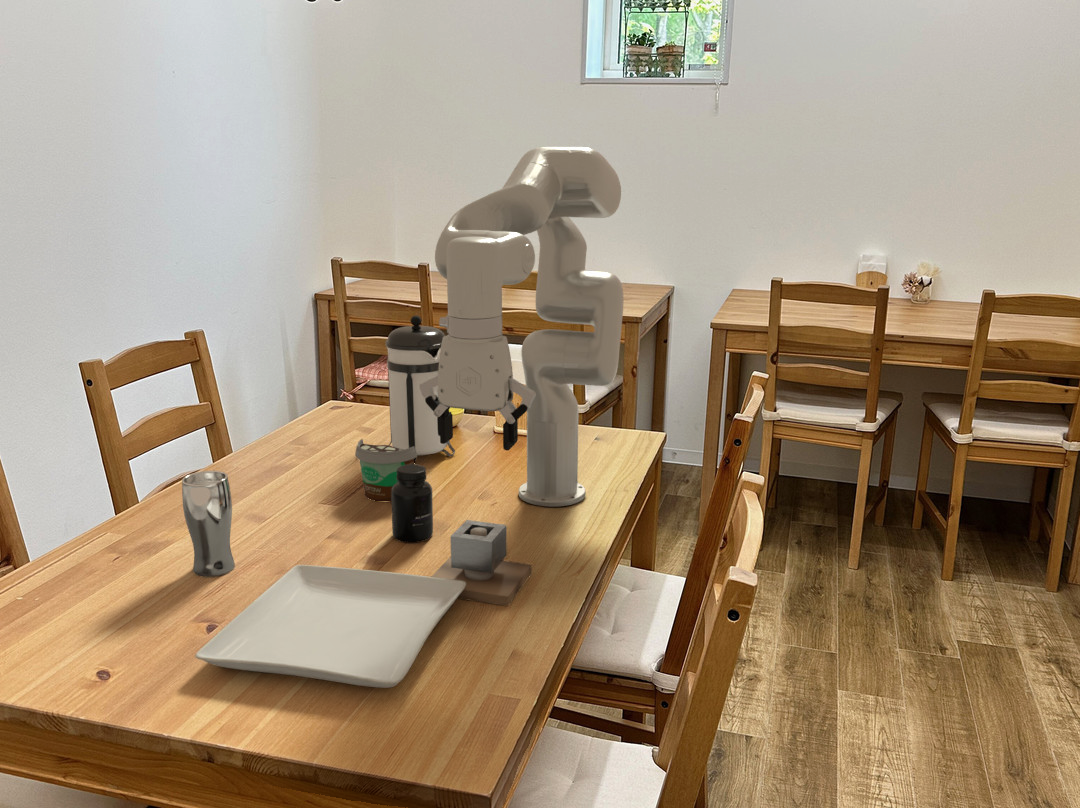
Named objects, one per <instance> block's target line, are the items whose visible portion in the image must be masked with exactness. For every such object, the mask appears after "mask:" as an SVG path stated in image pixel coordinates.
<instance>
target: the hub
mask: <svg viewBox="0 0 1080 808" xmlns="http://www.w3.org/2000/svg"><path fill="white" fill-rule="evenodd" d="M479 527H480V528H485V529H486V530H487V536H486V537H484V536H477V535H471V529H473V528H479ZM507 532H508V531H507V524H503V523H501V524H500V523H494V522H488V521H487V522H486V521H480V520H479V521H478V520H470V519H466V520H465V521H464V522H463V523H462V524H461V525H460V526H458V528H457V529H456V530H455V531H454V532H453V533H451V535H450V556H451V568H458V569H465V570H472V571H478V572H485V573H493V572H494V571H495V569H496V568H497V567H498V566H499V564H500V563H501V562H502V561H503V560H505V559H506V557H507V556H508V555H507V553H508V552H507V551H508V549H507V547H508V546H507V545H508V544H507V543H508V542H507V541H508V540H507V534H508V533H507Z"/></svg>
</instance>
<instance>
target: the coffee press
mask: <svg viewBox="0 0 1080 808" xmlns="http://www.w3.org/2000/svg"><path fill="white" fill-rule="evenodd" d="M422 322H423V319H422V318H421V317H420V316H419V315H413V316H412V317H411V318H410V324H411V325H407V326H406V325H405V326H401V327H398V328H395V329H394V330H392V331H391V332H390V333H389V335H388V337H387V339H386V340H385V346H386V349H387V358H386V363H387V364H386V365H387V367H386V368H387V370H388V371H387V373H388V374H387V375H388V377H387V378H388V379H387V380H388V396H389V397H388V400H389V423H390V425H389V426H390V442H389V444H388V445H389V446H393V447H396V448H399V449H408V448H411V447H413V446H414V448H415V450H416V453H417V457H416V458H414V463H415V464H417V458H418V456H425V455H426V456H427V455H431V454H436V453H439V452H443V453H444V454H445V455H446V456H447V457H449V456H452V457H453V456H454V455H455V454H456V453H455V452H456V450H455V449H454V447H453V446H452V444H451V441H450V440H451V439H450V440H449V441H448V442H447V443H445V444H441V443H440V436H438V424H437V417H436V416H435V415H434V411H433V410H432V409H431V408H430V407H429V406H428V405H427V404H426V402H425V397H423V395H422V393H421V391H420V389H419V385H420V384H422V383H423V382H425V381H428V380H430V379H432V378H434V377H436V376H438V370H439V359H440V351H441V344H442V339H443V337H444V336H446V335H445V333H444V331H442V330H441V329H439V328H436V327H434V326H428V325H421V324H422ZM433 391H434V394H435V395H436V396H437V397H438V385H437V386H435V387H433ZM447 446H448V448H449V449H450V451H451V452H452V454H451V453H450V452H449V451H448V450H447V449H446V447H447Z"/></svg>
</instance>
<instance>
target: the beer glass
mask: <svg viewBox="0 0 1080 808" xmlns="http://www.w3.org/2000/svg"><path fill="white" fill-rule="evenodd" d="M181 485H182V486H181V487H182V488H181V489H182V490H181V491H182V492H181V494H182V495H181V496H182V498H181V499H182V508H183V515H184V519H185V523H186V526H187V530H188V533H189V535H190V538H191V543H192V547H193V554H194V555H193V570H192V571H193V573H194V574H195V575H196V576H198V577H201V576H202V577H203V578H212V577H213V578H215V577H221V576H223V575H226V574H228V573H229V572H232V570H234V569H235V565H236V564H235V560H234V557H233V554H232V549H231V531H232V517H233V516H232V515H233V504H232V503H233V502H232V495H231V493H232V492H231V487H230V483H229V477H228V473H227V472H225V471H222V470H201V471H196V472H194V473H189V474H188V475H186V476H184V477H183V478H182V479H181Z"/></svg>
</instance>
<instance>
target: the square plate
mask: <svg viewBox="0 0 1080 808" xmlns="http://www.w3.org/2000/svg"><path fill="white" fill-rule="evenodd" d="M465 586H466V582H465V581H461V580H453V579H444V578H435V577H431V576H427V575H418V574H411V573H402V572H391V571H381V570H372V569H371V570H370V569H361V568H359V569H358V568H351V567H350V568H347V567H337V566H325V565H324V566H323V565H312V564H311V565H310V564H309V565H308V564H296V565H295V566H293V567H292V568H291V569H289V570H288V571H287V572H286V573H285V574H283V575H282V576H281V577H280V578H279V579H278V580H277V581H276V582H274V583H273V584H271V585H270V586H269V587H268V588H267V589H266V590H265V591H264V592H262V593H261V594H260V595H259V596H258V597H257V598H256V599H255V600H253V601H252V602H251V603H250V604H249V605H248V606H247V607H245V608H244V609H243V610H242V611H241V612H240V613H239V614H238V615H236V616H235V617H234V618H233V619H232V620H230V622H229V623H227V624H226V625H225V626H224V627H222V629H221V630H220V631H219V632H217V633H216V634H215V635H214V636H213V637H212V638H210V640H209V641H207V642H206V643H205V644H204V645H203V646H202V647H201V648H199V650H198V651H197V652H196V653H195V659H197V660H200V661H204V662H206V663H207V664H210V665H214V666H218V667H221V668H227V669H233V670H242V671H249V672H257V673H258V672H260V673H268V674H269V673H270V674H277V675H278V674H280V675H286V676H288V675H289V676H296V677H304V678H311V679H316V680H324V681H330V682H337V683H343V684H349V685H353V686H354V685H355V686H363V687H372V688H386V689H387V688H389V689H391V688H393V687H395V686H397V685H398V683H401V682H402V680H403V679H404V678H405V677H406V676H407V674H408V672H409V671H410V669H411V667H412V665H413V664H414V662H415V660H416V658H417V657H418V655H419V652H420V651H421V650H422V647H423V646H424V644H425V643H426V641H427V639H428V637H429V636H430V635H431V633H432V631H433V630H434V629H435V627H436V626H437V624H438V623H439V622H440V620H441V619H442V618H443V617H444V615H445V614H447V612H448V611H449V609H450V608H451V607H452V605H454V603H455V601H456V600H457V599H458V598H457V597H458V596H459V595H460V594H461V592H462V591H463V590H464V588H465Z"/></svg>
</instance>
